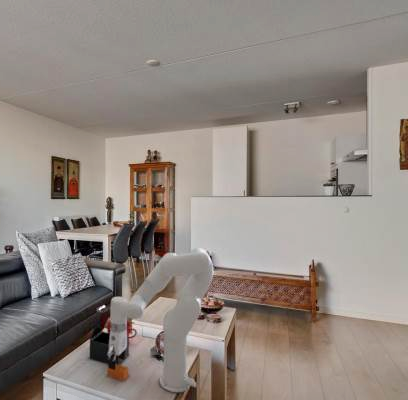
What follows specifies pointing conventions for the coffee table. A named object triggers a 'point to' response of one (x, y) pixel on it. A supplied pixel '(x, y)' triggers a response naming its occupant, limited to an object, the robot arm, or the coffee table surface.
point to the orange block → (118, 372)
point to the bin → (104, 348)
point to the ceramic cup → (127, 329)
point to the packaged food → (154, 351)
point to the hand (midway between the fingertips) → (116, 363)
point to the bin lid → (101, 320)
